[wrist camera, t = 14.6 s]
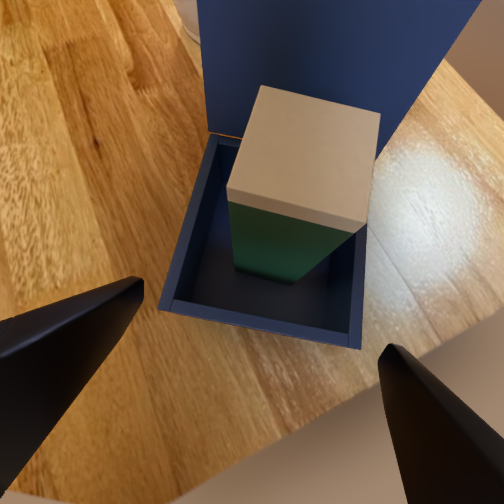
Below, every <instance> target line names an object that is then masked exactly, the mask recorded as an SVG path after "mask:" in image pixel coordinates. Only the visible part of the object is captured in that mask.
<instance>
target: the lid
mask: <svg viewBox="0 0 504 504" xmlns="http://www.w3.org/2000/svg"><path fill="white" fill-rule="evenodd" d="M481 1H482V0H196V2H197V13H198V24H199V35H200V46H201V57H202V68H203V79H204V90H205V101H206V111H207V122H208V131H209V132H214V133H219V134H224V135H230V136H235V137H240V138H243V136H244V133H245V130H246V128H247V125H248V122H249V119H250V116H251V113H252V110H253V107H254V104H255V101H256V98H257V95H258V92H259V89H260V86H261V85H263V86H268V87H272V88H276V89H280V90H284V91H289V92H293V93H297V94H301V95H305V96H309V97H314V98H318V99H322V100H326V101H330V102H334V103H339V104H343V105H347V106H351V107H355V108H359V109H364V110H368V111H372V112H376V113H380V114H381V115H380V123H379V131H378V139H377V147H376V155H375V160H376V159H377V157H378V156H379V154H380V153H381V151H382V150H383V148H384V147H385V145H386V144H387V142H388V141H389V139H390V138H391V136H392V135H393V133H394V132H395V130H396V129H397V127H398V126H399V124H400V123H401V121H402V120H403V118H404V117H405V115H406V114H407V112H408V111H409V109H410V108H411V106H412V105H413V103H414V102H415V100H416V99H417V97H418V96H419V94H420V93H421V91H422V90H423V88H424V87H425V85H426V84H427V82H428V81H429V79H430V78H431V76H432V75H433V73H434V72H435V70H436V69H437V67H438V66H439V64H440V63H441V61H442V60H443V58H444V57H445V55H446V53H447V52H448V50H449V49H450V48H451V46H452V44H453V43H454V41H455V40H456V38H457V37H458V35H459V34H460V32H461V31H462V29H463V28H464V26H465V25H466V23H467V22H468V20H469V19H470V17H471V16H472V14H473V13H474V11H475V10H476V8H477V7H478V5H479V4H480V2H481Z"/></svg>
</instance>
